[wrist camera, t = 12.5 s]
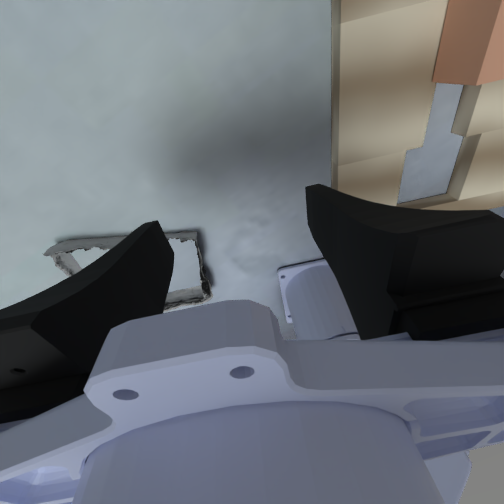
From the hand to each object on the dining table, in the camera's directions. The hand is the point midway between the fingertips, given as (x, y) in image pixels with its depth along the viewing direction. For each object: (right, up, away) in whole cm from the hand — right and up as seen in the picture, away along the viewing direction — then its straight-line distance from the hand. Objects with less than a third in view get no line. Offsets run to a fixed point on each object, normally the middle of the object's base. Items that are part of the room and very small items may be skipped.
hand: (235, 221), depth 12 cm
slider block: (+14, +13, +4) cm, 19 cm away
